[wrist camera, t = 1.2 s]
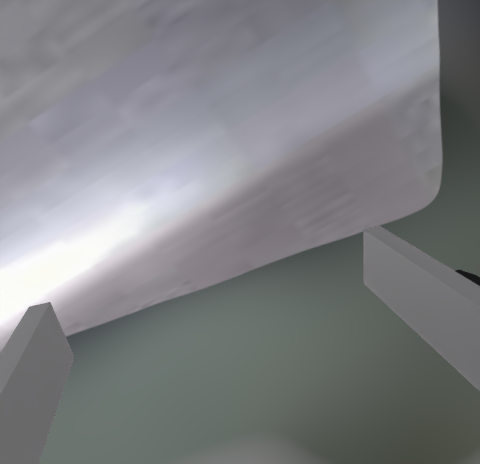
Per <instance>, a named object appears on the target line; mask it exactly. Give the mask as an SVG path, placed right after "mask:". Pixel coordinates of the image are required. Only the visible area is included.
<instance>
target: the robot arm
mask: <svg viewBox="0 0 480 464" xmlns="http://www.w3.org/2000/svg"><path fill="white" fill-rule="evenodd" d="M364 284H365V285H366V286H367V287H368V288H369V289H370V290H372V291H373V292H374V293H375V294H376V295H377V296H378V297H379V298H380V299H381V300H382V301H383V302H384V303H386V304H387V305H388V306H389V307H390V308H391V309H392V310H393V311H394V312H395V313H396V314H397V315H398V316H400V317H401V318H402V319H403V320H404V321H405V322H406V323H407V324H408V325H409V326H410V327H411V328H412V329H413V330H415V331H416V332H417V333H418V334H419V335H420V336H421V337H422V338H423V339H424V340H425V341H426V342H428V343H429V344H430V345H431V346H432V347H433V348H434V349H435V350H436V351H437V352H438V353H439V354H440V355H441V356H442V357H444V358H445V359H446V360H447V361H448V362H449V363H450V364H451V365H452V366H453V367H454V368H455V369H457V370H458V371H459V372H460V373H461V374H462V375H463V376H464V377H465V378H466V379H467V380H468V381H469V382H471V383H472V384H473V385H474V386H475V387H476V388H477V389H478V390H479V391H480V277H478V276H476V275H474V274H470V273H468V272H465V271H461V270H457V271H454V270H452V269H450V268H449V267H447V266H445V265H444V264H442V263H440V262H439V261H437V260H435V259H434V258H432V257H430V256H429V255H427V254H425V253H424V252H422V251H420V250H419V249H417V248H415V247H414V246H412V245H410V244H409V243H407V242H405V241H404V240H402V239H400V238H399V237H397V236H395V235H394V234H392V233H390V232H389V231H387V230H386V229H384V228H382V227H381V226H377V227H373V228H369V229H364ZM73 359H74V356H73V353H72V351H71V349H70V346H69V344H68V342H67V340H66V337H65V335H64V333H63V330H62V328H61V326H60V323H59V321H58V319H57V317H56V314H55V312H54V310H53V307H52V305H51V303H50V302H48V303H44V304H39V305H35V306H31V307H29V308H28V310H27V311H26V313H25V314H24V316H23V318H22V319H21V321H20V322H19V324H18V326H17V327H16V329H15V331H14V332H13V334H12V335H11V337H10V339H9V340H8V342H7V343H6V345H5V347H4V348H3V350H2V352H1V353H0V464H39V461H40V458H41V455H42V452H43V449H44V446H45V443H46V440H47V437H48V434H49V431H50V428H51V425H52V422H53V419H54V416H55V413H56V410H57V407H58V404H59V400H60V398H61V395H62V392H63V389H64V386H65V383H66V379H67V377H68V374H69V371H70V368H71V365H72V362H73Z"/></svg>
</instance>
